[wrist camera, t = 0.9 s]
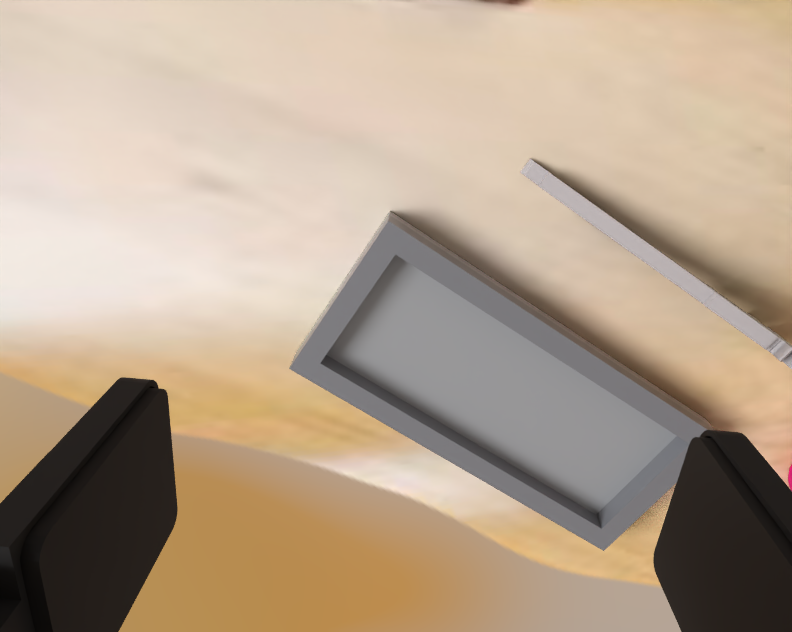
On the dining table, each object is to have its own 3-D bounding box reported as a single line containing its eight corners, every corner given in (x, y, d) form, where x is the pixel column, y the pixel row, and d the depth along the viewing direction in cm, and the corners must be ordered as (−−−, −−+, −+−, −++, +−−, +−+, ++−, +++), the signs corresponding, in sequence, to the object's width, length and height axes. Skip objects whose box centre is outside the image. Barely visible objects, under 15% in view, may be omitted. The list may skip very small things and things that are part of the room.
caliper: (771, 327, 41) (829, 372, 35) (759, 339, 41) (814, 386, 35) (529, 157, 37) (549, 175, 31) (518, 172, 37) (536, 193, 32)
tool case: (390, 210, 38) (388, 220, 36) (706, 419, 43) (722, 439, 41) (296, 351, 42) (289, 368, 40) (594, 527, 47) (603, 550, 45)
